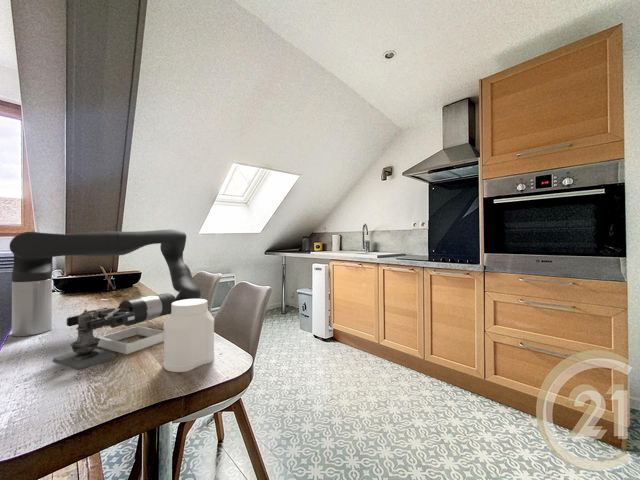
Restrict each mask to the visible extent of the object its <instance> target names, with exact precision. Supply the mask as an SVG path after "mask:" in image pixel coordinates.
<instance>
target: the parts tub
mask: <svg viewBox="0 0 640 480" xmlns="http://www.w3.org/2000/svg"><path fill="white" fill-rule="evenodd" d="M137 335H138V336H143V337H145V338H141V339H138V340H134V341H131V342H129V343H127V342H123V341H121V340H123V339H124V340H125V339H127V338H130V337H134V336H137ZM95 338H99V339H100V341H99V342H98V346H97V347H98V348H101V349H106V350H108V351H113V352H117V353H121V354H123V355H129V354H131V353H135V352H138V351H140V350H143V349H145V348H149V347H151V346H155V345H157V344H160V343H164V330H161V329H156V328H151V327H147V326H143V325H136V326H133V327H128V328H125V329H122V330H118V331H115V332H111V333H107V334H104V335H100V336H96V337H95Z"/></svg>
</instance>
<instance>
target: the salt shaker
mask: <svg viewBox="0 0 640 480" xmlns="http://www.w3.org/2000/svg"><path fill="white" fill-rule="evenodd" d="M87 311H88V310H87V309H86V308H85V310H83V312H84V313H83V312H82V313H80V314H79V317H78V326H77V327H76V330H77V339H75V340H74V341H73V342H71V343H70V344H69V347H71V350H72V352H75V353H78V354H76V355H75V356H73V357H72V360H84V359H88V358H92V357H94V356H96V355H98V354H99V353H98V352H97V351H93V350H94V349H95V348H96V349H97V347H98V342H99V341H100V339H99V338H96V337H94V329H93V330H89V331H86V330H85V322H87V321H91V320H93V315H92V314H91V313H88V312H87Z"/></svg>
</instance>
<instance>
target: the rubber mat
mask: <svg viewBox="0 0 640 480" xmlns="http://www.w3.org/2000/svg"><path fill="white" fill-rule="evenodd" d="M93 351H97V352H98V353H99V354H98V355H96V356H94V357H92V358H88V359H84V360H72V357H73V356H75V355H76V354H78V353H75V352H74V351H72V352H68V353H65V354H62V355H58V356H56V357H53V361H54V362H57V363H59V364H62V365H66V366H68V367H71V368H74V369H76V370H82V369H84V368H88V367H90V366H94V365H96V364H99V363H102V362H105V361H108V360H111V359H113V358H116V357H117V354H116V353H114V352H113V353H112V352H109V351H105V350H102V349H98V348H97V347H96V348H95V349H94V350H93Z"/></svg>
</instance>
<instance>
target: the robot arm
mask: <svg viewBox="0 0 640 480" xmlns="http://www.w3.org/2000/svg"><path fill="white" fill-rule="evenodd" d="M186 242H187V234H186V233H185V232H184V231H183V230H179V229H173V228H172V229H171V228H170V229H157V230H144V231H143V230H142V231H139V230H138V231H120V230H119V231H118V230H117V231H116V230H115V231H114V230H113V231H107V230H104V231H93V232H92V231H90V232H80V233H48V232H37V231H25V232H21V233H19V234H17V235H16V236H14V237H13V238H12V239H11V240H10V242H9V250H10V252H11V253H12V255H13V267H12V272H11V336H12V335H14V336H13V337H26V336H27V337H29V336H34V335H38V334H43V333H45V332H48V331H51V330H52V329H53V326H52V325H53V267H54V266H53V261H54V260H53V258H54V257H56V258H57V257H67V256H78V257H79V256H80V257H83V256H84V257H112V256H113V257H114V256H116V257H117V256H125V255H128V254H131V253H133V252H135V251H137V250H139V249H141V248H144V247H146V246H149V245H150V246H151V245H157V244H158V245H159V244H160V252H161V254H162V257H163V258H164V260H165V262H166V264H167V267H168V271H169V274H170V275H169V276H170V279H171V284H172V288H173V289H174V290H175V291H176V292H178V293H177V295H176V296H175V295H174V294H172V293H160V294H155V295H146V296H140V297H135V298H134V297H133V298H129V299H125V300H122V301H121V302H120V303H119V305H118V307H117V308H116V307H103V308H97V309H93V310H87V312H88V313H91V314H92V316H93V320H91V321H87V322H85V330H86V331H89V330H93V331H94V330H96V329H102V328H109V327H110V328H114V329H115V328H116V327H121V326H126V327H129V326H133V325H137V324H139V323H144V322H149V321H151V320H153V319H157V318H159V317H163V316H167V315H170V314H171V310H172V309H171V308H172V307H171V304H172V303H173V302H175V301H179V300H185V299H201V296H202V294H201V293H202V291H201V289H200V287H199V286H198V285H197V283H196V282H195V281H194V280H193V275H192V273H191V269H190V268H189V266H188V265H187V264H186V263H185V262H184V251H185V248H186ZM83 313H84V311H83V312H82V314H83ZM79 315H80V314H79ZM79 315H75V316H69V317H67V318H66V326H67V327H72V326H73V327H74V326H77V325H78V317H79Z"/></svg>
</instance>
